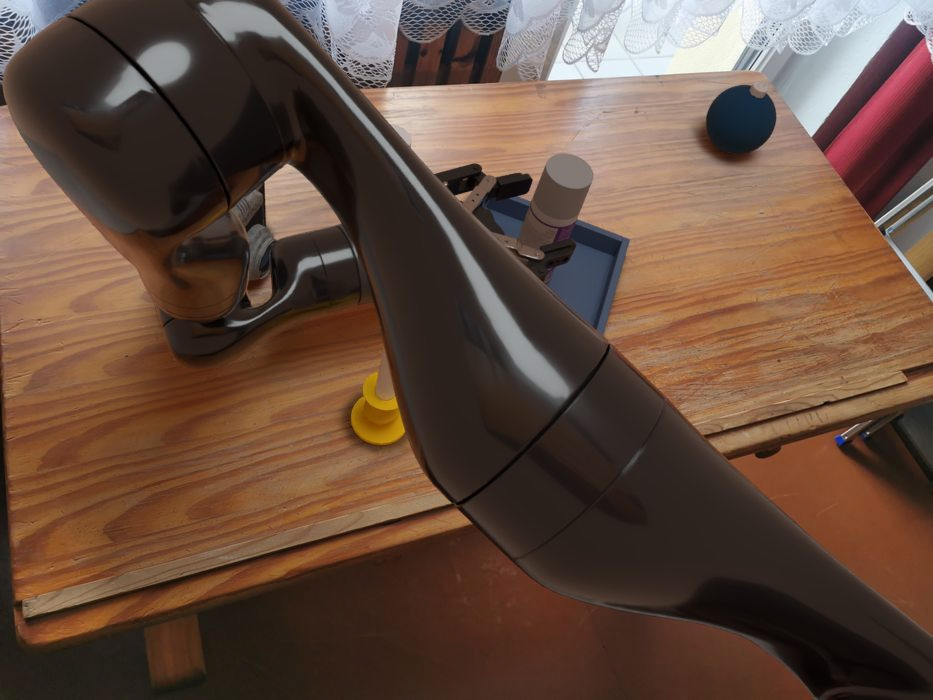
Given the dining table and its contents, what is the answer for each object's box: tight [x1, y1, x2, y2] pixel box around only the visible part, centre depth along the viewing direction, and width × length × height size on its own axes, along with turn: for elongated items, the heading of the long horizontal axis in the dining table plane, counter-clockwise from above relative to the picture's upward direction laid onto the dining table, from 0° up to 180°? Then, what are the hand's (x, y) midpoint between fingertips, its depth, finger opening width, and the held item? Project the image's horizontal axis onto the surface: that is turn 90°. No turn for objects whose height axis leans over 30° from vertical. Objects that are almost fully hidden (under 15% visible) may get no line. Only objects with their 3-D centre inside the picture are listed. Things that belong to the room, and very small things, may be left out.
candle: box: [350, 345, 406, 447], centre depth 64 cm, size 5×5×16 cm
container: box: [518, 152, 594, 285], centre depth 76 cm, size 5×5×15 cm
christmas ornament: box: [705, 81, 777, 155], centre depth 97 cm, size 8×8×10 cm
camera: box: [232, 181, 278, 282], centre depth 72 cm, size 15×7×10 cm, turn 160°
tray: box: [485, 196, 631, 336], centre depth 81 cm, size 18×16×3 cm
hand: (550, 214), depth 74 cm, fingers open, 8 cm apart
